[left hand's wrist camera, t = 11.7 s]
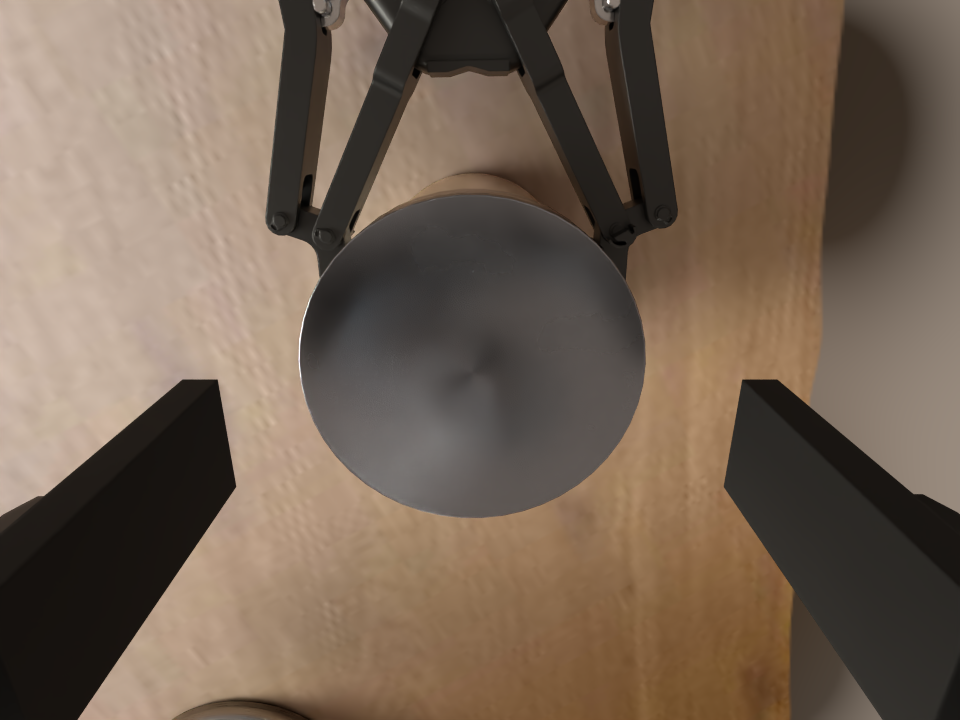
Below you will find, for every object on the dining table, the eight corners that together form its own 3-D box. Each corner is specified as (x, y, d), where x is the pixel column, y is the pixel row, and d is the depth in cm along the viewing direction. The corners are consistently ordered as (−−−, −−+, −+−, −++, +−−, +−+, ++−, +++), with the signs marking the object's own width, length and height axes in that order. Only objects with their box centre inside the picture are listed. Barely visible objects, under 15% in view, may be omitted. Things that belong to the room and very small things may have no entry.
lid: (311, 174, 17) (291, 179, 15) (655, 201, 17) (676, 209, 16) (318, 476, 21) (303, 509, 19) (604, 493, 21) (616, 527, 19)
